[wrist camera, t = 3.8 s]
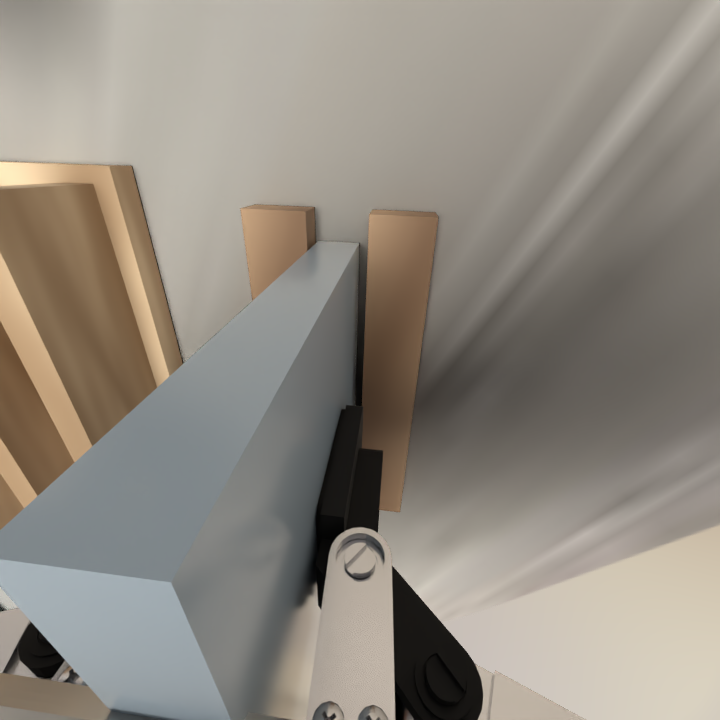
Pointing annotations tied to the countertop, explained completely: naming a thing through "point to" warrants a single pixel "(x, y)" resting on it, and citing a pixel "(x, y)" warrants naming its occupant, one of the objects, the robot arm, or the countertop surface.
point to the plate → (203, 516)
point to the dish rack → (73, 318)
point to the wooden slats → (366, 314)
